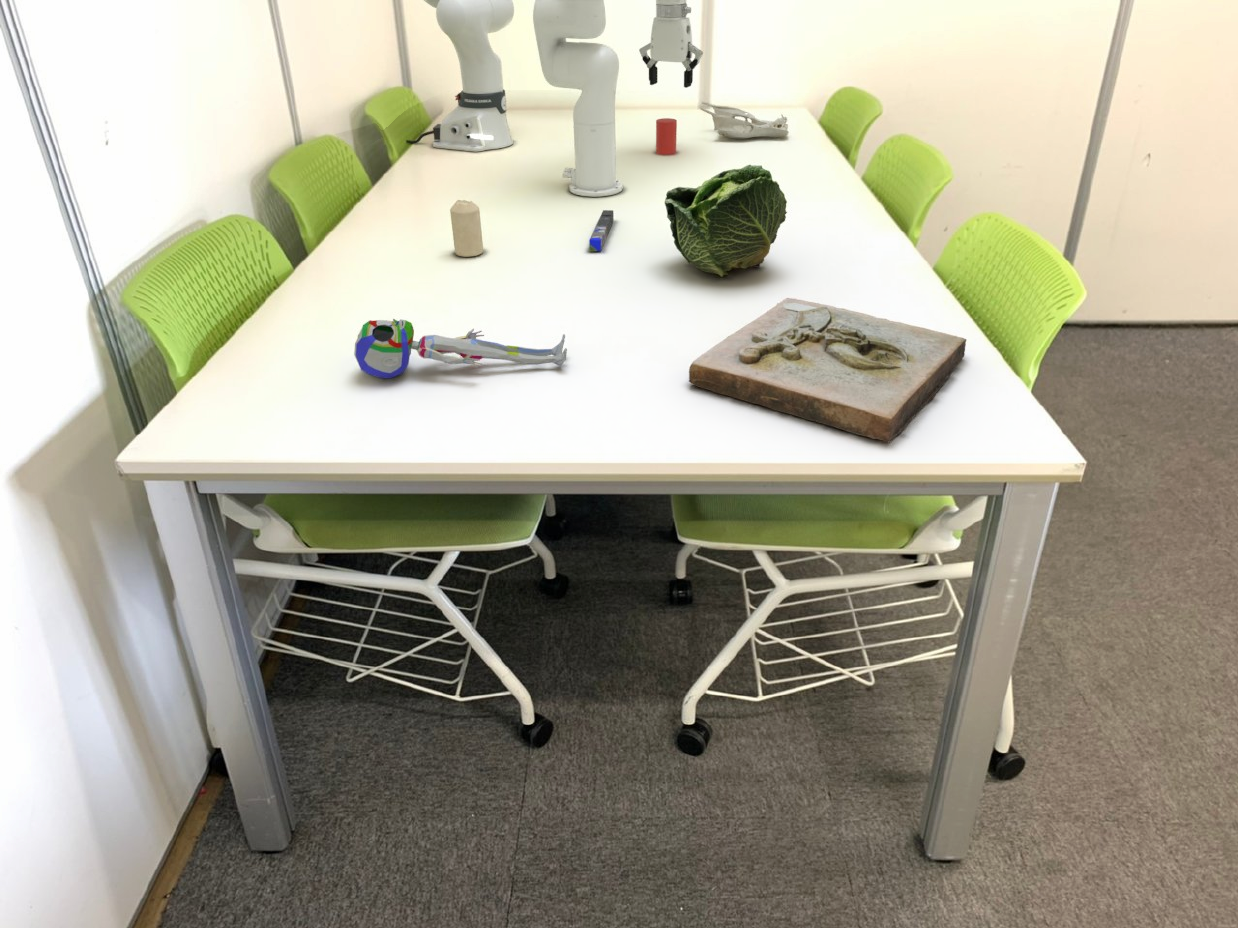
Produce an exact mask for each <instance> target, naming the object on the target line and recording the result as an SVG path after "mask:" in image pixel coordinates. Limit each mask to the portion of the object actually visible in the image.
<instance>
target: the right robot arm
mask: <svg viewBox="0 0 1238 928" xmlns="http://www.w3.org/2000/svg"><path fill="white" fill-rule="evenodd" d="M691 13H692V7H689V6H688V3H687V0H655V17H653V21H652V25H651V33H650V42H649V43H647V44H645V45H644V46H642V47H640V48H639V54H640V57H641V59H642V61H643V62H644V64H645V65H646V68H647V69H648V81H649V85H650V86H653V85H656V84H658V66H657V64H658V62H665V63H666V62H667V63H681V64H682V65H683V67H684V68H685V70H684V71H683V88H689V87H691V86H692V84H693V79H694V78H693V77H694V70H695V68H696V67H697V65H699V64H700V61H701V59H702V57H703V55H704V51H702V50H701V49H699V48H698V47H697V46H695V45H693V35H692V25H691V19H690V17H689V16H688V14H691ZM687 16H688V17H687ZM606 17H607V16H606V9H605V0H535V1H534V4H533V9H532V22H533V29H534V34H535V40H536V45H537V51H538V56H539V57H538V58H539V61H540V67H541V71H542V75H543V77H544V79H545V81H546V82H547V84H549V85H550V86H552V87H555V88H562V89H572V90H580V91H581V93H580V95H579V96H578V99H577V101H576V103H575V104H574V108H573V112H572V119H573V120H572V121H573V139H574V140H573V142H574V143H573V144H574V168H571V167H565V168H564V169H563V173H562V178H564V179H570V180H571V183H570V184H569V187H568V188H569V191H570V193H571V194H573V195H577V196H581V197H589V198H590V197H592V198H593V197H594V198H595V197H596V198H597V197H608V196H612V195H616V194H619V193H621V192H622V191H623V189H624V184H623V183H622V182H621V181H620V180H617V152H616V151H617V150H616V148H617V147H616V143H617V142H616V92H617V84H618V77H619V71H620V61H619V57H618V54H617V52H616V51H615V49H614V48H612V47H610V46H609V45H606V44H603V43H598V42H585V41H579V42H576V41H567V39H573V40H574V39H575V40H592V39H597V38H598V37H600V36H601V35H603V33H604V31H605V28H606V25H607V24H606V23H607V20H606ZM648 51H649V53H650V56H649V54H648ZM693 54H694V59H693V60H691V59H692V58H693Z"/></svg>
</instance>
